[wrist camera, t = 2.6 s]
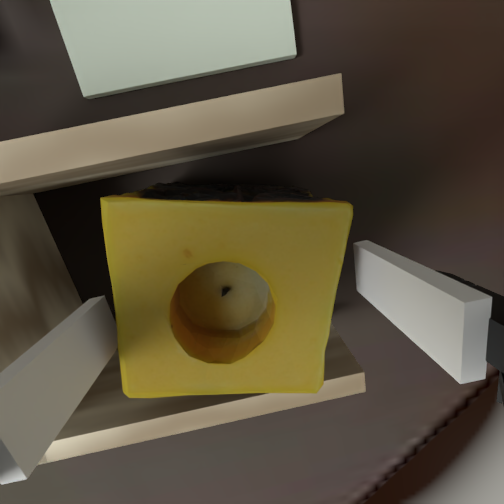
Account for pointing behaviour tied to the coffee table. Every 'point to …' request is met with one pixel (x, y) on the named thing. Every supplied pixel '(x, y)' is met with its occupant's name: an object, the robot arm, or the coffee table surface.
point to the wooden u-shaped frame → (62, 287)
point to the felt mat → (169, 39)
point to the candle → (223, 287)
